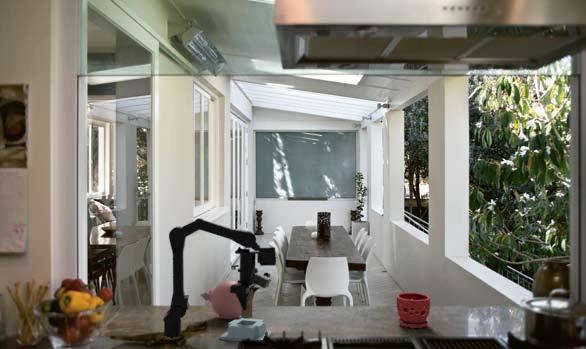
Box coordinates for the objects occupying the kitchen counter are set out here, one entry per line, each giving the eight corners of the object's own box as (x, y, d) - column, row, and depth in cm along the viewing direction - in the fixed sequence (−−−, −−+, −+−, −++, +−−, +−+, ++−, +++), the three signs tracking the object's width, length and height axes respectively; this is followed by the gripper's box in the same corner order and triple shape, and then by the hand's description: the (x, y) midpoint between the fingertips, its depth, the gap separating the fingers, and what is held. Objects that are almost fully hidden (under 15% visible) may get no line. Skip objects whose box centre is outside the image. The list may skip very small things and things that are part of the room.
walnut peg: (249, 318, 182) (250, 290, 182) (239, 318, 183) (240, 290, 183) (253, 316, 186) (254, 288, 186) (243, 315, 187) (244, 288, 187)
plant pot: (389, 324, 204) (389, 294, 205) (415, 320, 210) (415, 291, 211) (411, 332, 193) (411, 300, 193) (437, 328, 199) (437, 297, 199)
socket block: (261, 343, 176) (261, 328, 176) (219, 339, 181) (219, 325, 181) (272, 334, 188) (273, 320, 188) (233, 330, 192) (233, 317, 192)
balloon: (204, 313, 219) (205, 277, 220) (250, 314, 218) (251, 278, 218) (195, 322, 204) (196, 283, 204) (244, 323, 202) (245, 284, 203)
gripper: (259, 270, 174) (258, 316, 173) (276, 263, 192) (276, 305, 191) (229, 269, 177) (228, 314, 177) (249, 262, 195) (248, 302, 194)
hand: (246, 308), depth 185 cm, fingers closed on walnut peg, 4 cm apart
